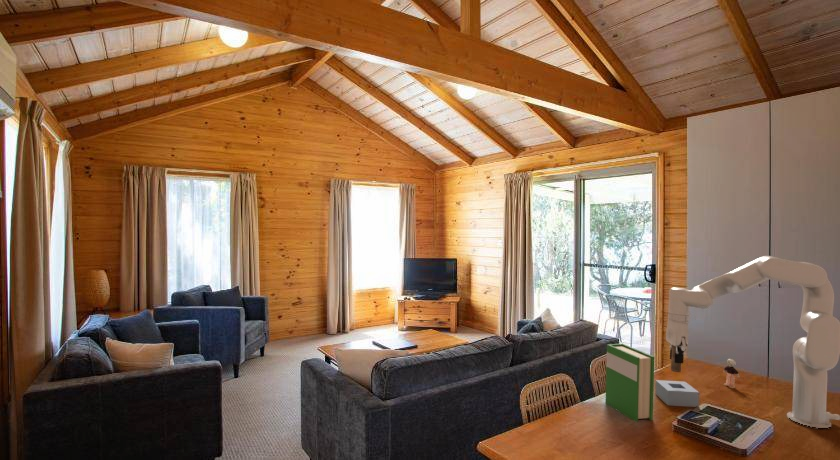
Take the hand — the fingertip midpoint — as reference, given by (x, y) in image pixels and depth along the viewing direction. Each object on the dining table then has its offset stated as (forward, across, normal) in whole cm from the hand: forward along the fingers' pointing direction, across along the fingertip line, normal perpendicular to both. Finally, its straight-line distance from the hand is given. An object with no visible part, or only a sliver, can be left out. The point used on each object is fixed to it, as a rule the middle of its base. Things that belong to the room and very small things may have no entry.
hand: (676, 360), depth 186 cm
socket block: (+17, 0, +1) cm, 17 cm away
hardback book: (+17, +14, -23) cm, 32 cm away
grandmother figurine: (+16, -20, +33) cm, 41 cm away
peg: (+4, 0, 0) cm, 4 cm away
